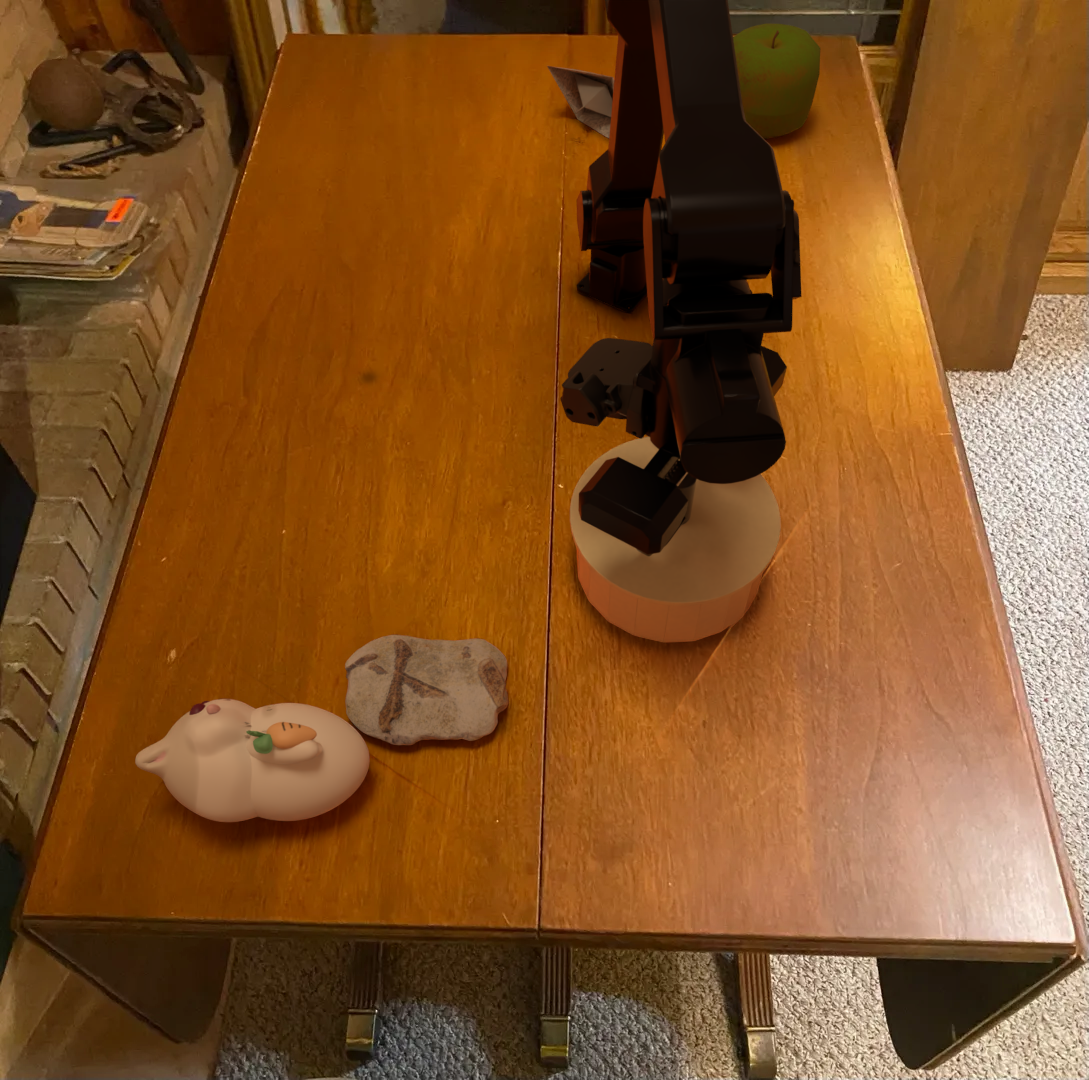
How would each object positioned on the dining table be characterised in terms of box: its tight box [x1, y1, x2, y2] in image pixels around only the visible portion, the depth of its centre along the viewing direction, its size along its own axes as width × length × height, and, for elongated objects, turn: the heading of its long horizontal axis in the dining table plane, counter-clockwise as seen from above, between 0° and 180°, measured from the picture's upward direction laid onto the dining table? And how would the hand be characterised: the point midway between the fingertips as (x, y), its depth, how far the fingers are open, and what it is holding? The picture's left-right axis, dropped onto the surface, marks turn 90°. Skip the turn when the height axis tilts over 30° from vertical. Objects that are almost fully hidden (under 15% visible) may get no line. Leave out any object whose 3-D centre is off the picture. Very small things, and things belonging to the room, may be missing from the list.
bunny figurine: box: [134, 698, 371, 823], centre depth 69 cm, size 10×8×15 cm
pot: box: [576, 548, 764, 643], centre depth 80 cm, size 15×15×6 cm
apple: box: [733, 23, 821, 140], centre depth 114 cm, size 11×11×11 cm
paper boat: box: [546, 65, 615, 139], centre depth 116 cm, size 12×6×9 cm
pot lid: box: [569, 436, 782, 606], centre depth 75 cm, size 16×16×6 cm
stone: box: [344, 634, 510, 746], centre depth 74 cm, size 12×9×3 cm
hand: (675, 509), depth 76 cm, fingers open, 9 cm apart
